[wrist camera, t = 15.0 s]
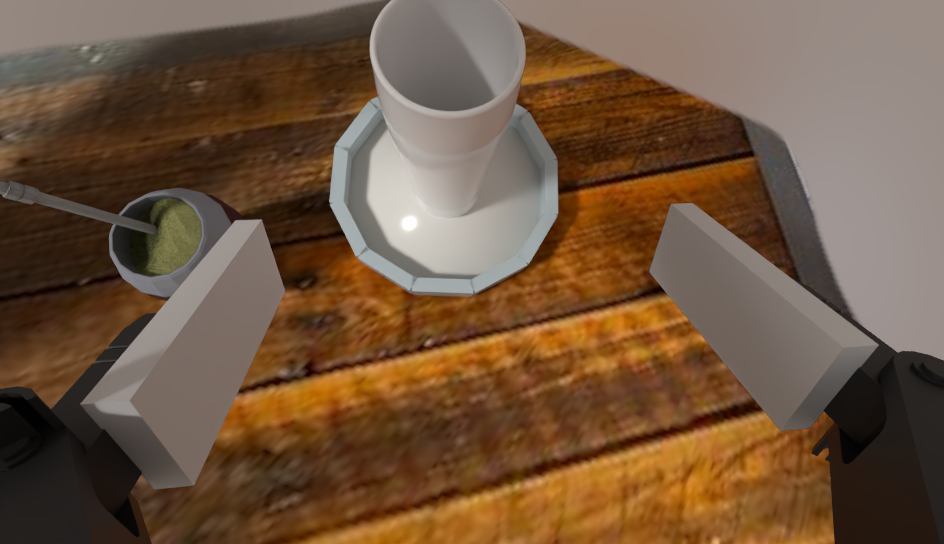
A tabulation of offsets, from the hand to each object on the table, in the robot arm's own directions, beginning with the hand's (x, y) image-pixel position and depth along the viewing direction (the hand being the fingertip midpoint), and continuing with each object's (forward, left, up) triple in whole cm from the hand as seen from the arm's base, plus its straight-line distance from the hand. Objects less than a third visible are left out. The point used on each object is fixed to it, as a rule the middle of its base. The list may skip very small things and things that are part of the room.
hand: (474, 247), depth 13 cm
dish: (-5, +7, -18) cm, 20 cm away
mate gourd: (-16, -7, -18) cm, 25 cm away
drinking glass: (-5, +7, -17) cm, 19 cm away
